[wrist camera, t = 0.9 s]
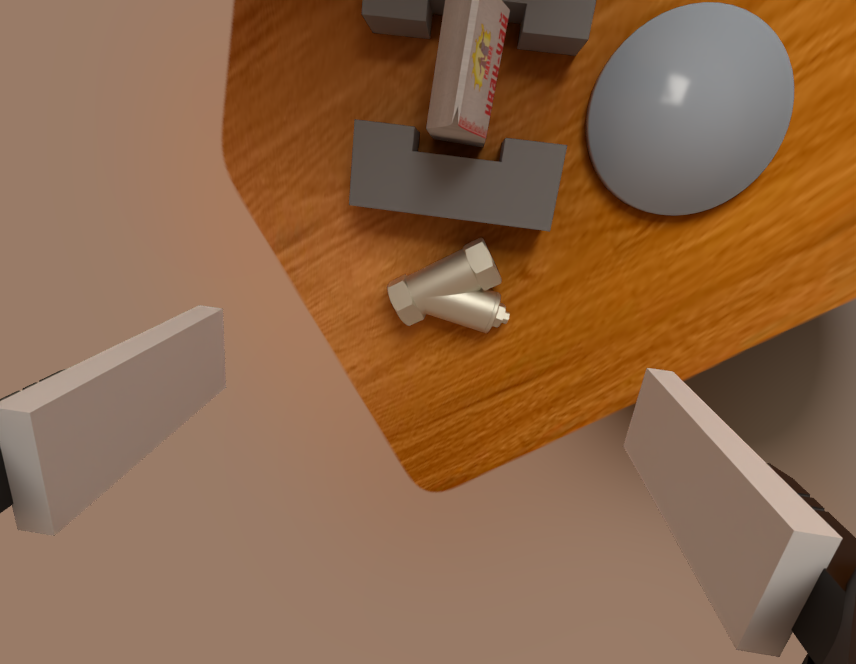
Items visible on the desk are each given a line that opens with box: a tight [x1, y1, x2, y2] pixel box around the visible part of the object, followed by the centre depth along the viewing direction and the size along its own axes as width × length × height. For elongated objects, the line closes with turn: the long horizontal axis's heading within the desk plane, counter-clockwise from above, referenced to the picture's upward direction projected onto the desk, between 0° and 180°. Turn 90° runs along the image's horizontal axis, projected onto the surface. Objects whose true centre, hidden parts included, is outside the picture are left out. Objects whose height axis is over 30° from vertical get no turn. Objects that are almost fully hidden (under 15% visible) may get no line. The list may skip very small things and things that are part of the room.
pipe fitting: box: [387, 237, 510, 333], centre depth 35 cm, size 8×4×7 cm
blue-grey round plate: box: [585, 2, 794, 215], centre depth 31 cm, size 13×13×1 cm
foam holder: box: [349, 0, 596, 231], centre depth 31 cm, size 17×14×4 cm
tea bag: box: [426, 0, 510, 147], centre depth 28 cm, size 4×7×10 cm, turn 171°
